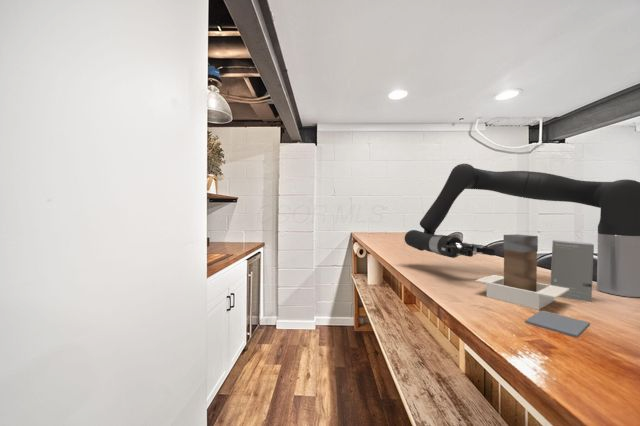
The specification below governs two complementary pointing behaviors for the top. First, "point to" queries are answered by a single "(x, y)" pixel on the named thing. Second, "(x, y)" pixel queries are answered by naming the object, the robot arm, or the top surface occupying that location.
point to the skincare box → (573, 268)
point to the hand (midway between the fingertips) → (483, 252)
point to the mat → (558, 323)
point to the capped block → (520, 261)
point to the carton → (521, 293)
